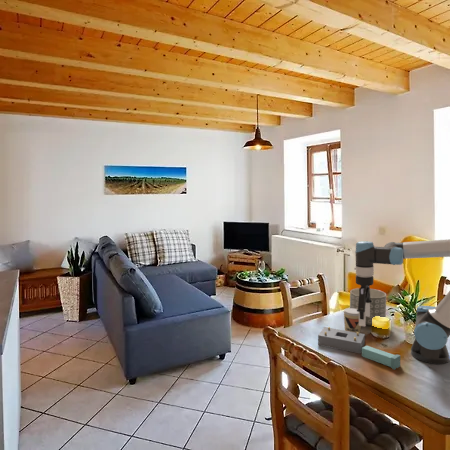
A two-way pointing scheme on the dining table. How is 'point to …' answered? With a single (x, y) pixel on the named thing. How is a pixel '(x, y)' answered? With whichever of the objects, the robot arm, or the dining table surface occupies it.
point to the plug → (381, 357)
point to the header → (341, 339)
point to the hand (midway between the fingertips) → (364, 320)
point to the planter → (375, 307)
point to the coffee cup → (351, 320)
